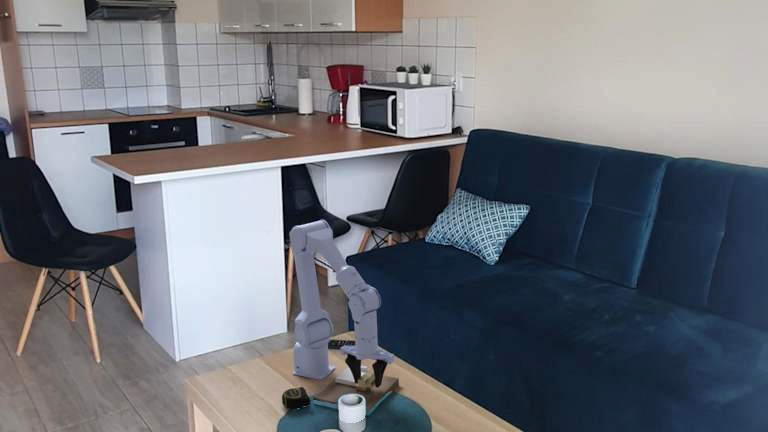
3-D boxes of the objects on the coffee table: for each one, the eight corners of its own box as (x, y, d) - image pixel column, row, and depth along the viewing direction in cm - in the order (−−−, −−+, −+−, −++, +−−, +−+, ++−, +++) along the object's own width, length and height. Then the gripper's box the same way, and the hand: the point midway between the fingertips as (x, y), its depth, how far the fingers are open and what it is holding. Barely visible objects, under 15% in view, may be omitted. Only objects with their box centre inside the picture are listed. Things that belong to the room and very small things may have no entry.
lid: (335, 382, 188) (335, 374, 188) (350, 369, 195) (349, 362, 195) (365, 388, 184) (364, 380, 184) (378, 375, 191) (378, 367, 191)
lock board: (313, 404, 182) (313, 396, 181) (347, 374, 197) (347, 367, 197) (368, 416, 175) (367, 409, 174) (398, 385, 190) (398, 377, 190)
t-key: (349, 394, 181) (349, 377, 180) (362, 382, 187) (361, 366, 186) (365, 397, 179) (364, 381, 178) (377, 385, 185) (377, 369, 184)
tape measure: (311, 409, 179) (310, 396, 178) (285, 414, 177) (284, 401, 176) (306, 397, 186) (305, 384, 185) (280, 402, 184) (279, 389, 183)
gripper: (333, 336, 179) (336, 385, 182) (384, 345, 172) (386, 395, 176) (347, 326, 185) (349, 373, 188) (396, 334, 179) (398, 383, 182)
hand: (368, 383), depth 182 cm, fingers open, 5 cm apart
